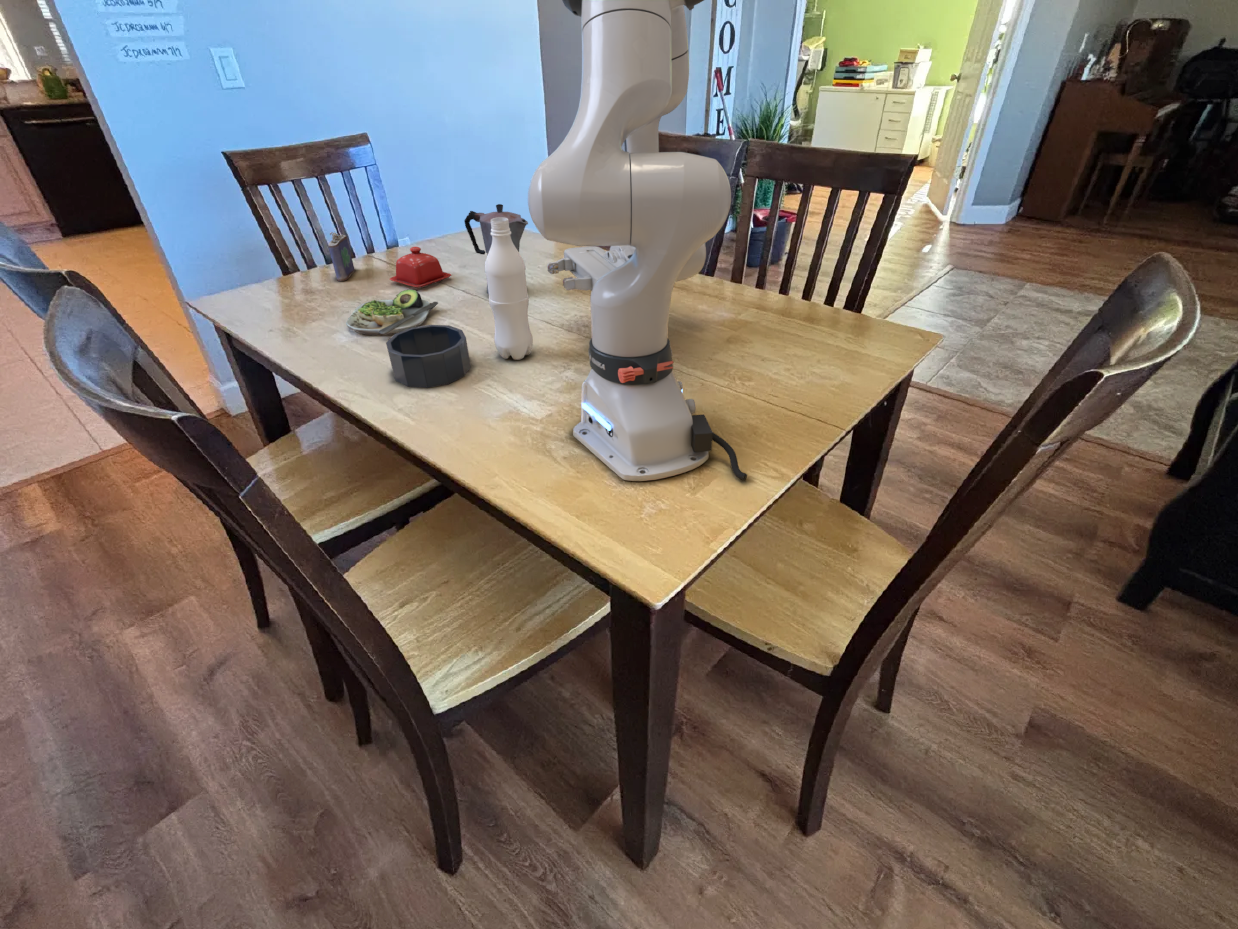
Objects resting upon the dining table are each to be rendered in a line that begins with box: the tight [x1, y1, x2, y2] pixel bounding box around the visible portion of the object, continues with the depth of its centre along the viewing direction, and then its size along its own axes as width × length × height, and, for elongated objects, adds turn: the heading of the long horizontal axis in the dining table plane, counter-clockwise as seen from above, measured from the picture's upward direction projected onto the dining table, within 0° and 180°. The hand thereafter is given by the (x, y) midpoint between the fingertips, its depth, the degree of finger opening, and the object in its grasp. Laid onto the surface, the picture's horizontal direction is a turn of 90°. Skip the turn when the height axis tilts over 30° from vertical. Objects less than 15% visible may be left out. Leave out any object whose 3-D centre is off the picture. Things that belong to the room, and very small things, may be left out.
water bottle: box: [484, 217, 534, 361], centre depth 113 cm, size 7×7×25 cm
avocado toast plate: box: [345, 289, 439, 336], centre depth 132 cm, size 19×18×5 cm
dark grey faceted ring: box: [385, 324, 472, 389], centre depth 114 cm, size 14×14×6 cm
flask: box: [327, 231, 356, 282], centre depth 156 cm, size 9×3×11 cm, turn 2°
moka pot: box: [463, 203, 529, 296], centre depth 142 cm, size 10×15×20 cm, turn 78°
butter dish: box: [389, 246, 452, 289], centre depth 152 cm, size 12×12×8 cm
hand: (555, 276), depth 115 cm, fingers open, 8 cm apart
